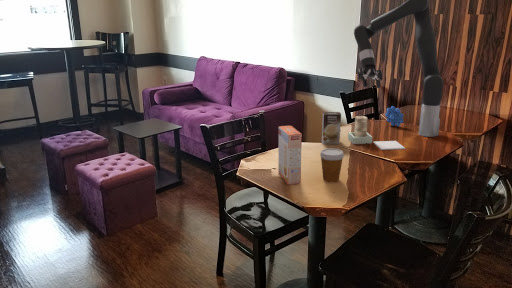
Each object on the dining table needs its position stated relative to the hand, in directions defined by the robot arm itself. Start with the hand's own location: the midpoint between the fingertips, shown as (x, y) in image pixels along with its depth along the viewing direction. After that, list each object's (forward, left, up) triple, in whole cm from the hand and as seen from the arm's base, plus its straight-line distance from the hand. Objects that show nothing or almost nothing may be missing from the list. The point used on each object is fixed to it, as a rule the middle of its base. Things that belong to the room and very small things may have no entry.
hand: (372, 87), depth 210 cm
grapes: (-20, -18, -27) cm, 39 cm away
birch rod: (+8, +9, -27) cm, 30 cm away
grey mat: (-4, +19, -27) cm, 33 cm away
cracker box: (+52, +57, -27) cm, 81 cm away
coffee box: (+24, +10, -27) cm, 38 cm away
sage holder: (+8, +9, -27) cm, 30 cm away
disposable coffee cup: (+35, +60, -27) cm, 74 cm away
